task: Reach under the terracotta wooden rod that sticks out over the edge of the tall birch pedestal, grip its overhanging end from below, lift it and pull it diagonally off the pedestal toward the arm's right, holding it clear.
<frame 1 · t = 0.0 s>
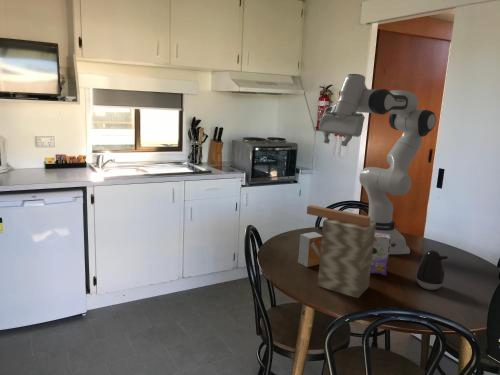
hand: (334, 144, 173), 52 cm above the table, tool tilted 20°, fingers open, 8 cm apart
stand: (343, 286, 163), on the table
candy box: (369, 271, 179), on the table
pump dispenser: (428, 287, 166), on the table
small box: (309, 263, 184), on the table
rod: (337, 219, 160), point 26 cm above the table, touching stand
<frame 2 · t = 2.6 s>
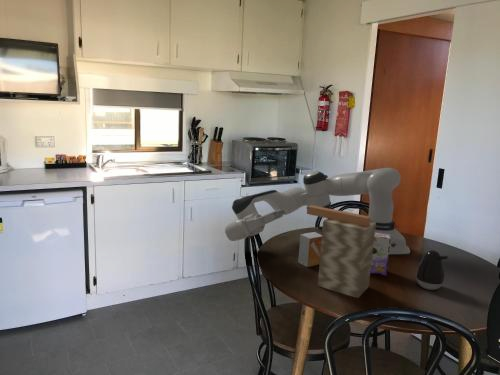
hand: (279, 213, 176), 23 cm above the table, tool pointing upward, fingers open, 8 cm apart
nothing on the table moved.
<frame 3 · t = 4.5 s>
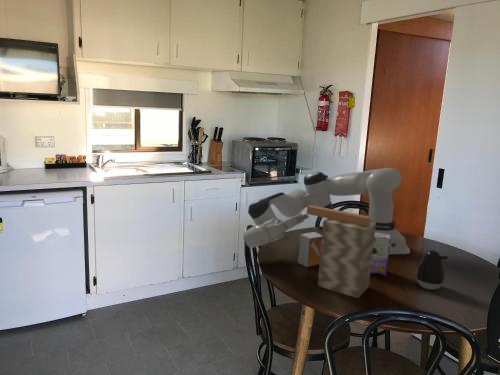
hand: (302, 218, 167), 23 cm above the table, tool pointing upward, fingers open, 8 cm apart
nothing on the table moved.
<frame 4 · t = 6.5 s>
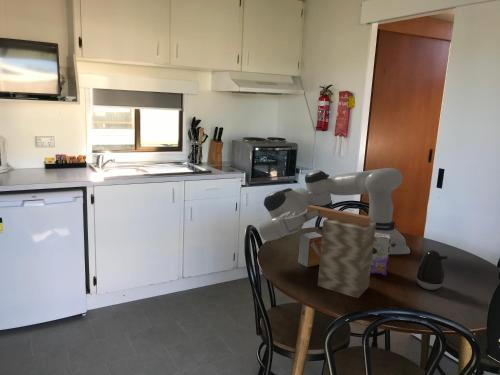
hand: (321, 210, 163), 28 cm above the table, tool pointing upward, fingers closed on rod, 3 cm apart
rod: (337, 219, 160), point 26 cm above the table, touching gripper, stand
everything else where it was.
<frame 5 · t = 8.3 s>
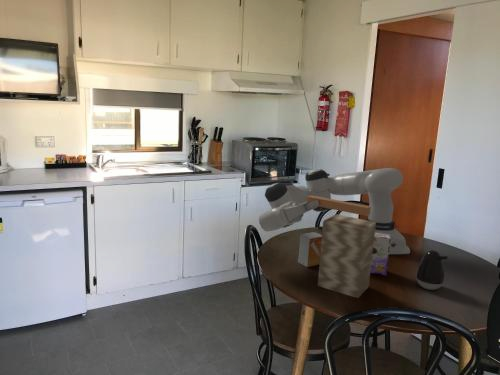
hand: (321, 200, 162), 32 cm above the table, tool pointing upward, fingers closed on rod, 3 cm apart
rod: (337, 209, 159), point 30 cm above the table, touching gripper
everything else where it was.
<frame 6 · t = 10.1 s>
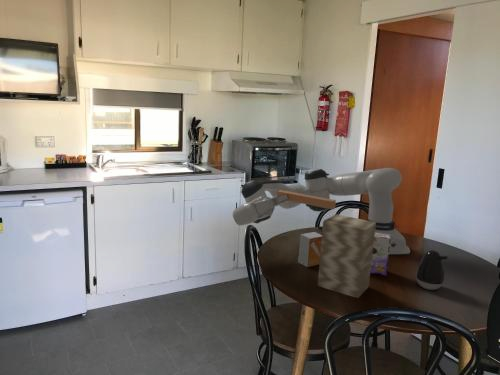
hand: (290, 195, 169), 32 cm above the table, tool pointing upward, fingers closed on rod, 3 cm apart
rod: (304, 203, 166), point 30 cm above the table, touching gripper
everything else where it was.
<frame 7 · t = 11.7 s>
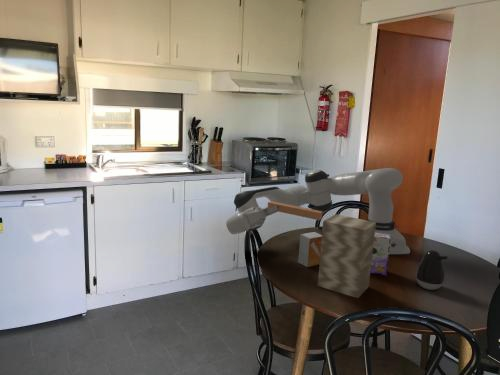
hand: (280, 206, 179), 25 cm above the table, tool pointing upward, fingers closed on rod, 3 cm apart
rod: (294, 213, 176), point 23 cm above the table, touching gripper
everything else where it was.
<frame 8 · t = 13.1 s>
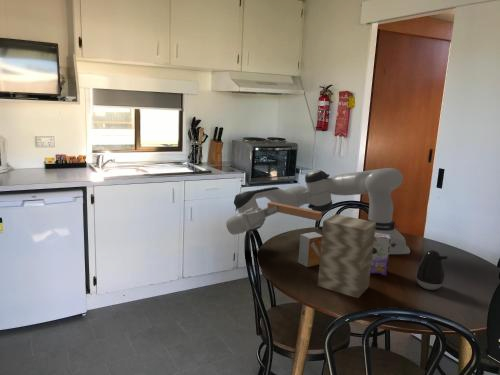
hand: (279, 206, 180), 24 cm above the table, tool pointing upward, fingers closed on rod, 3 cm apart
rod: (293, 214, 176), point 22 cm above the table, touching gripper
everything else where it was.
at the end: the gripper is holding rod; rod touching gripper; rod moved 22.1 cm from its start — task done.
